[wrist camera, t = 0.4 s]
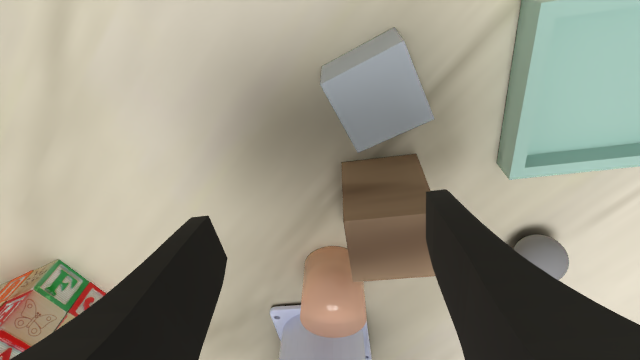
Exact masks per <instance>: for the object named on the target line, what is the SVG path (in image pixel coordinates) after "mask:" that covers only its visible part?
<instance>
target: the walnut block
mask: <svg viewBox="0 0 640 360" xmlns="http://www.w3.org/2000/svg"><path fill="white" fill-rule="evenodd" d="M428 191H430V188H429V186H428V183H427V181H426V178H425V175H424V173H423V170H422V168H421V165H420V162H419V160H418V157H417V155H416V154H410V155H402V156H393V157H384V158H375V159H367V160H358V161H349V162H342V192H343V222H344V228H345V235H346V241H347V247H348V254H349V260H350V267H351V273H352V280H353V282H361V281H374V280H388V279H401V278H415V277H428V276H435V273H434V270H433V267H432V263H431V259H430V255H429V251H428V247H427V242H426V192H428Z"/></svg>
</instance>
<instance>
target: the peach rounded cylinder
mask: <svg viewBox="0 0 640 360" xmlns="http://www.w3.org/2000/svg"><path fill="white" fill-rule="evenodd" d="M366 320H367V318H366V306H365V294H364V282H363V281H361V282H353V280H352V273H351V267H350V260H349V254H348V249H346V248H343V247H338V246H328V247H323V248H320V249H317V250H315V251H314V252H312V253H311V254H310V255H309V256H308V257H307V259H306V261H305V267H304V278H303V289H302V300H301V311H300V321H301V323H302V325H303V326H304V327H305V328H306V329H307V330H308V331H310V332H311V333H313V334H316V335H318V336H322V337H328V338H340V337H346V336H350V335H353V334H355V333H357V332H358V331H360V330H361V329H362V328H363V327H364V325H365V323H366Z"/></svg>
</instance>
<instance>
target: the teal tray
mask: <svg viewBox="0 0 640 360" xmlns="http://www.w3.org/2000/svg"><path fill="white" fill-rule="evenodd" d="M497 164H498V165H499V167H500V168H501V169H502V171H503V172H504V173H505V175H506V176H507V178H508V179H509V180H512V179H521V178H531V177H541V176H550V175H560V174H570V173H580V172H589V171H599V170H609V169H618V168H628V167H638V166H640V0H522V1H521V8H520V14H519V21H518V27H517V34H516V40H515V47H514V53H513V60H512V66H511V73H510V79H509V86H508V92H507V99H506V106H505V112H504V119H503V125H502V132H501V138H500V145H499V151H498V158H497Z"/></svg>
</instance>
